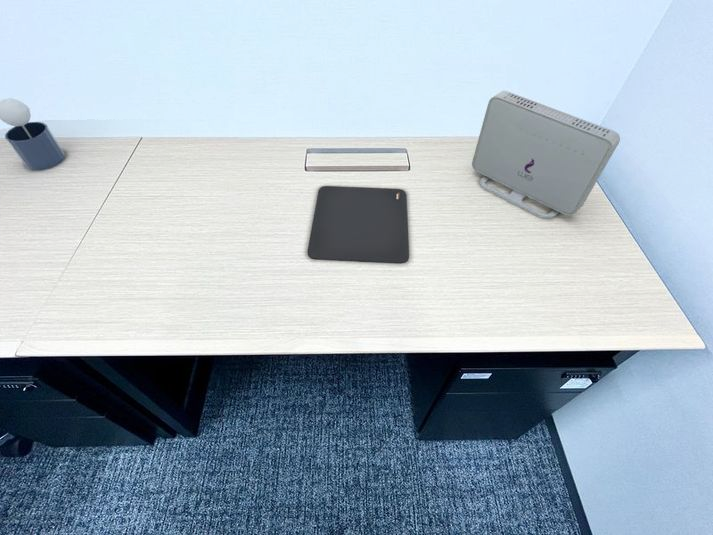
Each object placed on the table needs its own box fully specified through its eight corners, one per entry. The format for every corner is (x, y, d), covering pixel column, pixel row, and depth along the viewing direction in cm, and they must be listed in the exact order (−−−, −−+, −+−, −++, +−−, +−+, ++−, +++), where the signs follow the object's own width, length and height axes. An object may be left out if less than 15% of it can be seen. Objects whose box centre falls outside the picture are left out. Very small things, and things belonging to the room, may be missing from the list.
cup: (27, 174, 95) (5, 145, 89) (26, 156, 100) (5, 127, 94) (66, 164, 98) (48, 135, 92) (63, 147, 103) (45, 118, 97)
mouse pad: (409, 263, 78) (409, 262, 78) (306, 259, 79) (306, 258, 78) (405, 190, 93) (406, 189, 93) (319, 186, 93) (319, 185, 93)
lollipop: (58, 149, 101) (21, 91, 90) (59, 161, 98) (20, 102, 86) (31, 155, 100) (-11, 96, 88) (30, 167, 96) (-13, 108, 85)
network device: (463, 178, 96) (484, 98, 81) (482, 163, 100) (506, 84, 85) (564, 230, 85) (611, 147, 70) (581, 210, 89) (629, 128, 74)
